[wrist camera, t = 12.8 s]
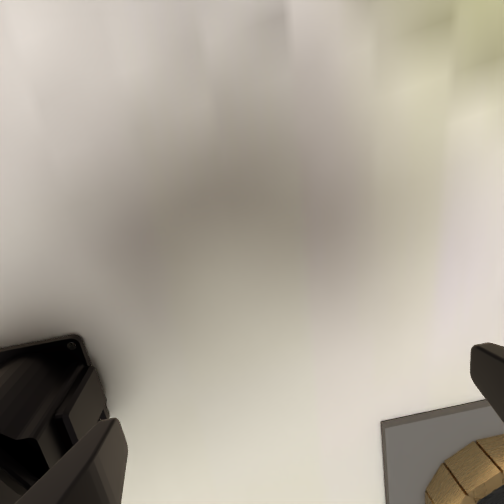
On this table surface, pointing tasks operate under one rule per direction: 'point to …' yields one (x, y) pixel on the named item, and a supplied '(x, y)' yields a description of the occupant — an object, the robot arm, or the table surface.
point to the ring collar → (469, 473)
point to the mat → (430, 445)
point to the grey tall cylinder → (494, 497)
